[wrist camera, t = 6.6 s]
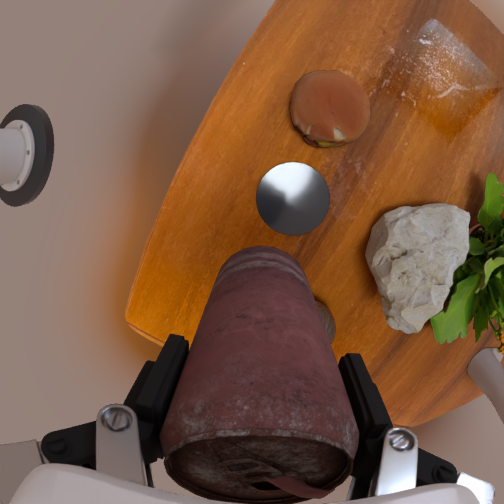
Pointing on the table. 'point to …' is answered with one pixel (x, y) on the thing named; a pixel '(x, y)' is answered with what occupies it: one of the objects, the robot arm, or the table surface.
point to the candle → (489, 376)
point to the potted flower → (478, 276)
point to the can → (260, 392)
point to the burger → (329, 108)
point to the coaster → (293, 198)
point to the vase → (327, 320)
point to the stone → (417, 260)
